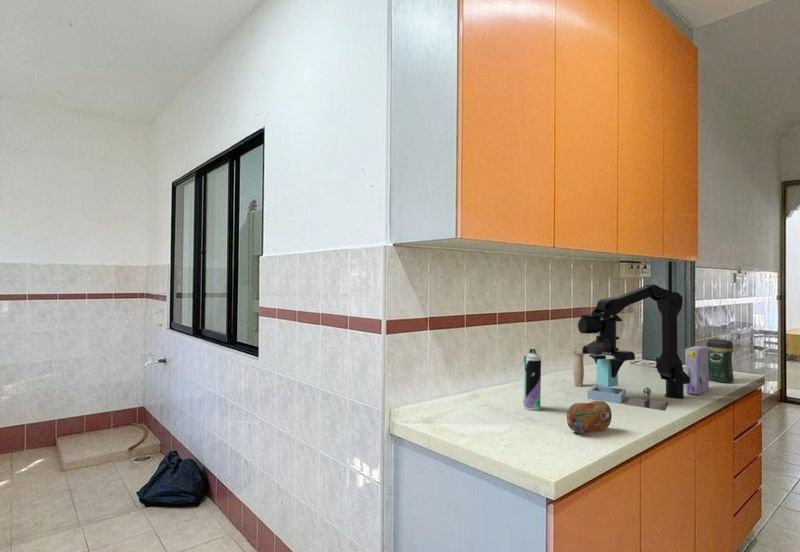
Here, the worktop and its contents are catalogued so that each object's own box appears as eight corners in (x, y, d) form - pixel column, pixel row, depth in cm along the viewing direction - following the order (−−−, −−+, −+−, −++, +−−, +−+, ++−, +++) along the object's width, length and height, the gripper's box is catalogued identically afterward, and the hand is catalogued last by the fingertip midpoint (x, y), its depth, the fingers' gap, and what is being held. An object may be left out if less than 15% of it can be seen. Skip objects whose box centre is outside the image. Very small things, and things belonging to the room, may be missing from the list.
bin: (594, 394, 174) (594, 385, 174) (625, 398, 168) (626, 389, 168) (587, 400, 165) (587, 390, 165) (620, 405, 159) (620, 395, 159)
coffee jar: (736, 382, 201) (736, 340, 201) (727, 384, 196) (728, 341, 197) (712, 378, 209) (712, 337, 209) (703, 379, 205) (703, 338, 205)
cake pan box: (696, 386, 191) (696, 344, 192) (710, 388, 188) (710, 345, 188) (684, 393, 178) (684, 348, 178) (699, 396, 174) (699, 350, 174)
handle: (581, 388, 184) (582, 351, 185) (568, 384, 190) (568, 348, 190) (589, 386, 187) (589, 350, 187) (575, 383, 192) (575, 348, 193)
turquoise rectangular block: (606, 382, 170) (606, 358, 170) (617, 385, 165) (618, 360, 165) (596, 383, 168) (596, 359, 168) (608, 386, 163) (608, 361, 163)
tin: (572, 435, 126) (573, 405, 126) (564, 432, 129) (564, 402, 129) (612, 429, 132) (612, 400, 132) (603, 426, 135) (604, 398, 135)
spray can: (531, 411, 149) (532, 350, 150) (520, 407, 154) (520, 348, 154) (543, 409, 152) (544, 349, 152) (532, 405, 157) (532, 347, 157)
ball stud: (630, 399, 167) (630, 382, 167) (668, 404, 160) (668, 387, 161) (625, 406, 158) (625, 388, 158) (665, 412, 151) (665, 393, 151)
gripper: (571, 331, 172) (571, 372, 172) (613, 337, 155) (613, 383, 155) (593, 330, 177) (592, 370, 176) (636, 336, 160) (635, 380, 159)
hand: (607, 376), depth 167 cm, fingers closed on turquoise rectangular block, 5 cm apart
